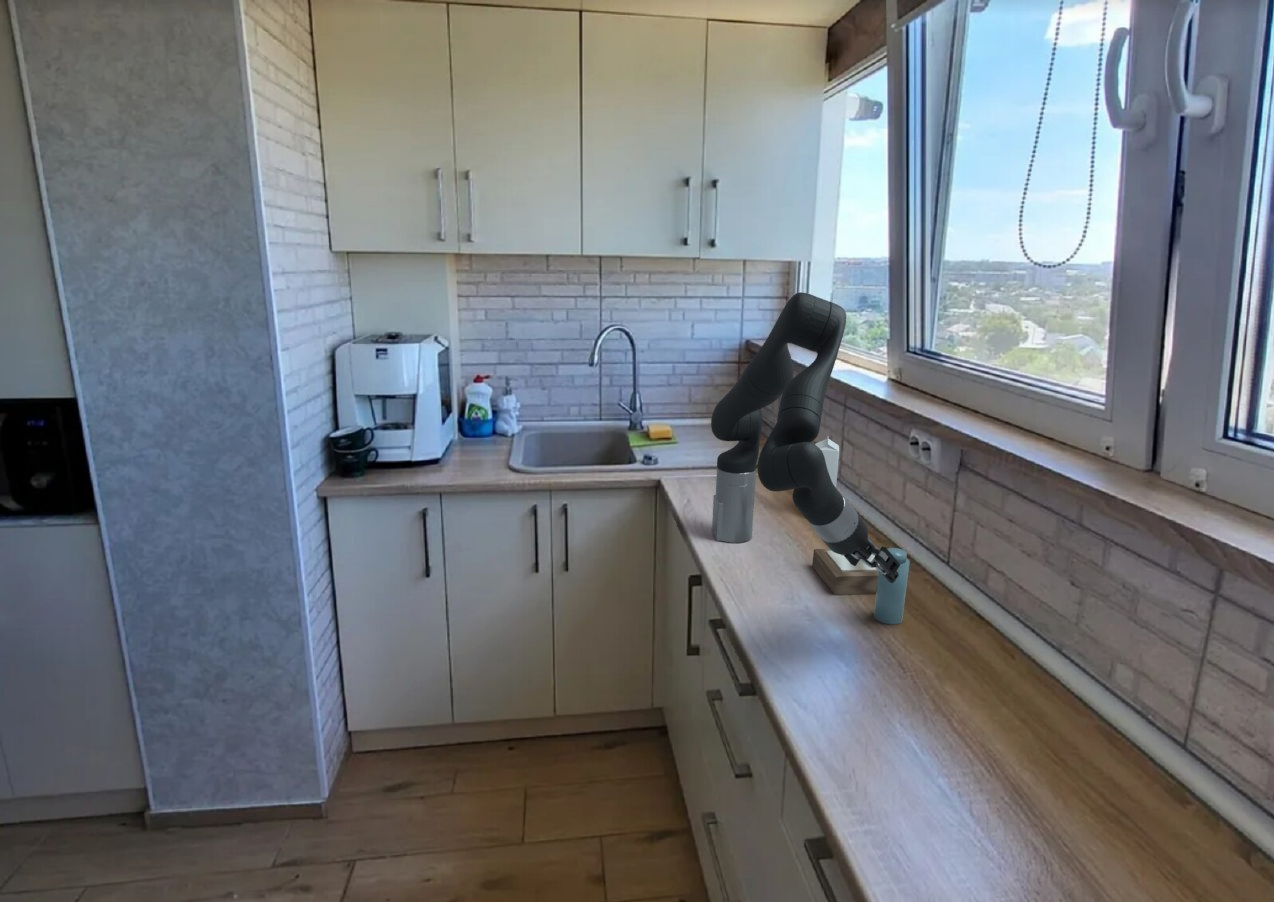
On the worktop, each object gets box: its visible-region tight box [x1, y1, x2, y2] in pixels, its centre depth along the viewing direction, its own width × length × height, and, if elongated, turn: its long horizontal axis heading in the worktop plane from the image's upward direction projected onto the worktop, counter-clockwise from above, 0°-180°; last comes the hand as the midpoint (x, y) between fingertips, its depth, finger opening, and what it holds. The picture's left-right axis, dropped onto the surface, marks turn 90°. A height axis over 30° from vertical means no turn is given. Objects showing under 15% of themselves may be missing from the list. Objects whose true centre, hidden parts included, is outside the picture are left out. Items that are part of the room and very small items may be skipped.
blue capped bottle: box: [873, 547, 911, 626], centre depth 138 cm, size 5×5×14 cm
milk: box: [814, 437, 840, 488], centre depth 189 cm, size 6×6×22 cm
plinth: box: [812, 548, 879, 596], centre depth 156 cm, size 14×14×4 cm
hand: (874, 569), depth 134 cm, fingers open, 8 cm apart
